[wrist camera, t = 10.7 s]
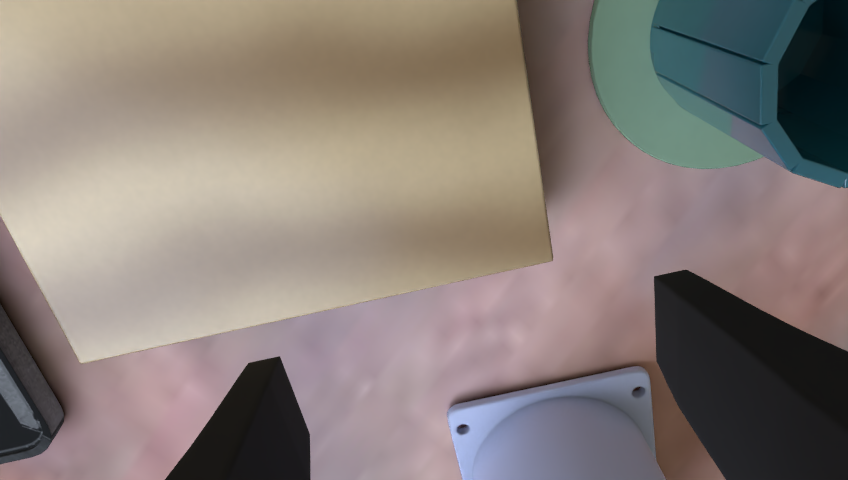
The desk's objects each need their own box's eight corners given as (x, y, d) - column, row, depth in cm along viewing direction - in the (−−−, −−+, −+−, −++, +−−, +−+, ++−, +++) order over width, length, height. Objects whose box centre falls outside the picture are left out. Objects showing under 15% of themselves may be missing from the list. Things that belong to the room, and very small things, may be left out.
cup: (819, 94, 21) (988, 157, 15) (654, 131, 21) (759, 207, 16) (829, -90, 19) (1032, -97, 13) (643, -46, 19) (762, -35, 13)
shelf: (531, 219, 23) (567, 285, 19) (116, 311, 23) (59, 396, 19) (457, -268, 17) (483, -333, 13) (-101, -132, 17) (-255, -151, 13)
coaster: (862, 133, 22) (870, 136, 22) (601, 191, 23) (605, 195, 22) (887, -171, 19) (898, -174, 18) (572, -97, 19) (576, -98, 18)
